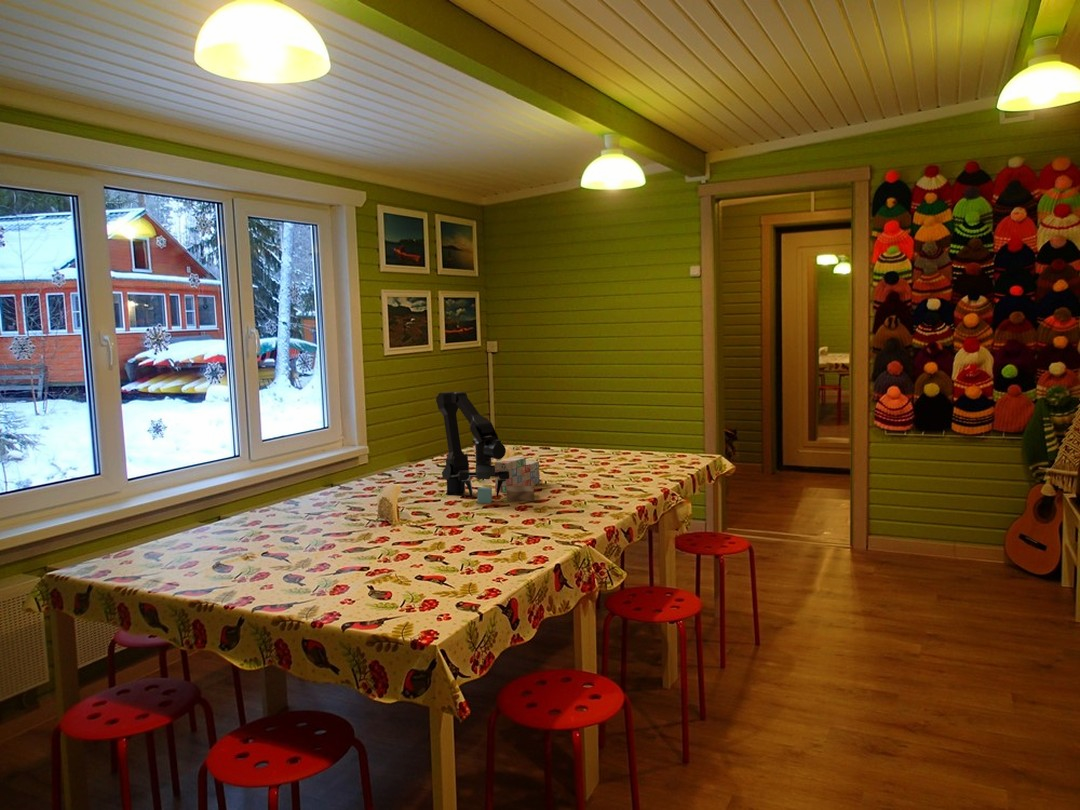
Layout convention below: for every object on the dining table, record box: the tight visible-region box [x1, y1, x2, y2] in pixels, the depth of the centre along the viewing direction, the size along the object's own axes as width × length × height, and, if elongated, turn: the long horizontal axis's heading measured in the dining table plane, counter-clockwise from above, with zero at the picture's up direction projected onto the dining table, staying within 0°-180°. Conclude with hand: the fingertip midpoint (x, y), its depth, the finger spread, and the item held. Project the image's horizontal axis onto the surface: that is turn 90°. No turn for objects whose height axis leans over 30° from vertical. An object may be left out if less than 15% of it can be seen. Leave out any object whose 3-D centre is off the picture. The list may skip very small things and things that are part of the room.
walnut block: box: [505, 485, 535, 503], centre depth 303 cm, size 10×10×4 cm
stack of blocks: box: [494, 456, 541, 494], centre depth 322 cm, size 21×6×12 cm, turn 145°
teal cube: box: [476, 486, 493, 505], centre depth 299 cm, size 5×5×5 cm
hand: (484, 497), depth 299 cm, fingers open, 9 cm apart
